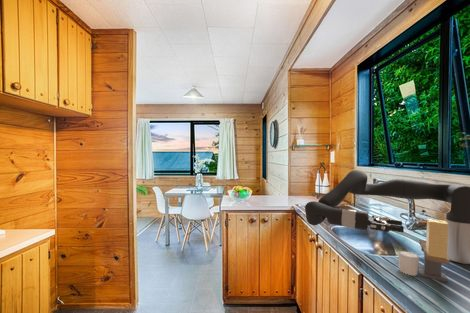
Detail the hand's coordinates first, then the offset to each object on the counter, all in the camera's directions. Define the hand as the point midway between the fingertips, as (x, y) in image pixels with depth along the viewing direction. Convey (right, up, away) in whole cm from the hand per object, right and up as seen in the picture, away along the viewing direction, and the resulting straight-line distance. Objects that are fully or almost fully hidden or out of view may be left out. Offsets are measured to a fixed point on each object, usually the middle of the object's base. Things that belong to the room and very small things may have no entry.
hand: (402, 226), depth 91 cm
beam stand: (+12, -19, +1) cm, 22 cm away
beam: (+12, -9, +1) cm, 15 cm away
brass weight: (+8, -9, -5) cm, 13 cm away
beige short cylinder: (+4, -19, +3) cm, 20 cm away
